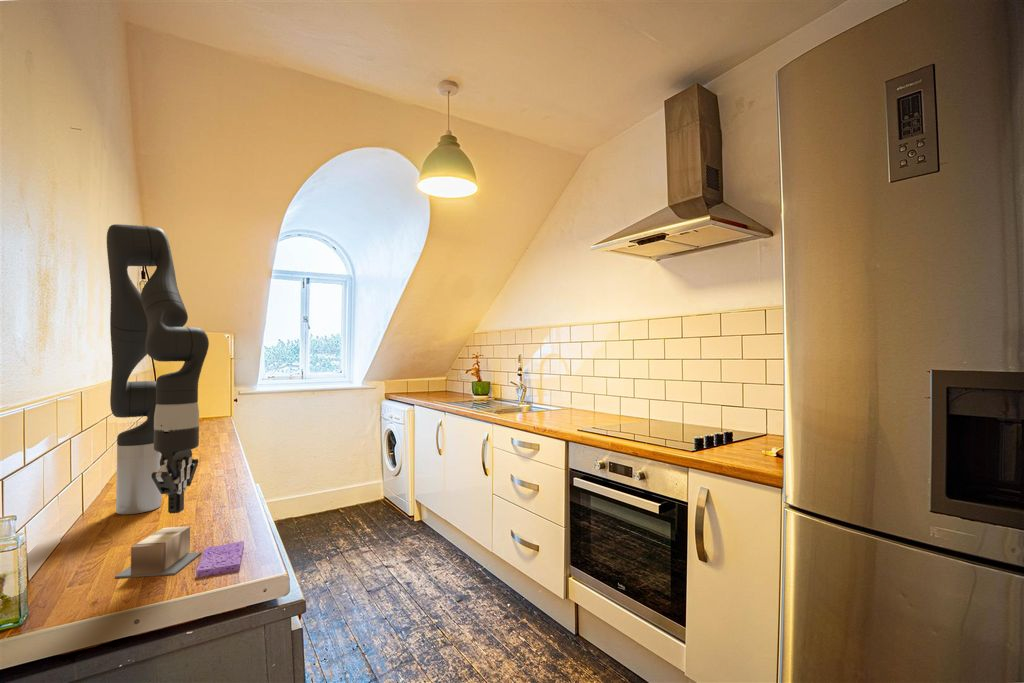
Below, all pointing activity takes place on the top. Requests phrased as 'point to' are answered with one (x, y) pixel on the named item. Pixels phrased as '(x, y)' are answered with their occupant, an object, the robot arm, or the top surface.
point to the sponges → (220, 559)
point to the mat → (169, 571)
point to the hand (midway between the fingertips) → (175, 512)
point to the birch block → (160, 550)
